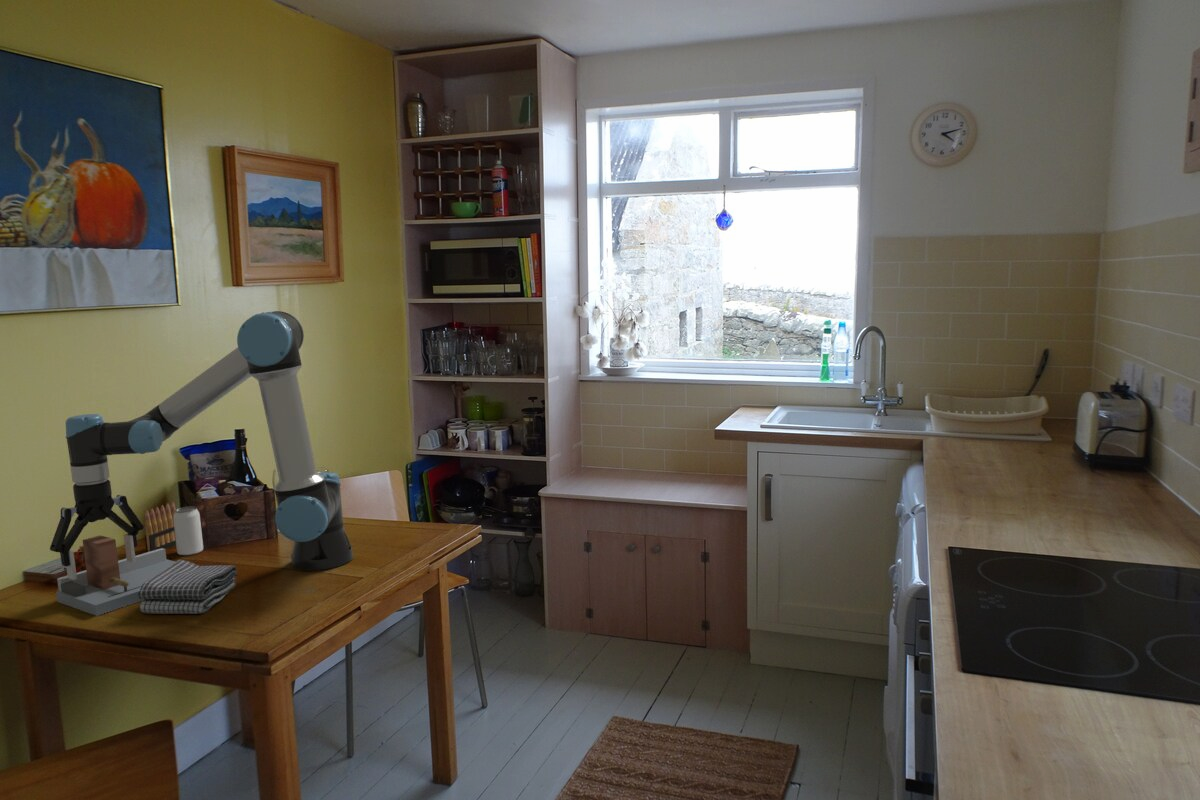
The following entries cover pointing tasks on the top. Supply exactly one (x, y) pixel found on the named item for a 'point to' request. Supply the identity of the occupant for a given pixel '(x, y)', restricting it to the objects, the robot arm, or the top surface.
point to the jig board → (114, 597)
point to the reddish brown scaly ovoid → (79, 560)
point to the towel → (186, 588)
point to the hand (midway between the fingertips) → (102, 569)
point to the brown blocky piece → (102, 563)
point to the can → (188, 531)
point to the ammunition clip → (160, 528)
